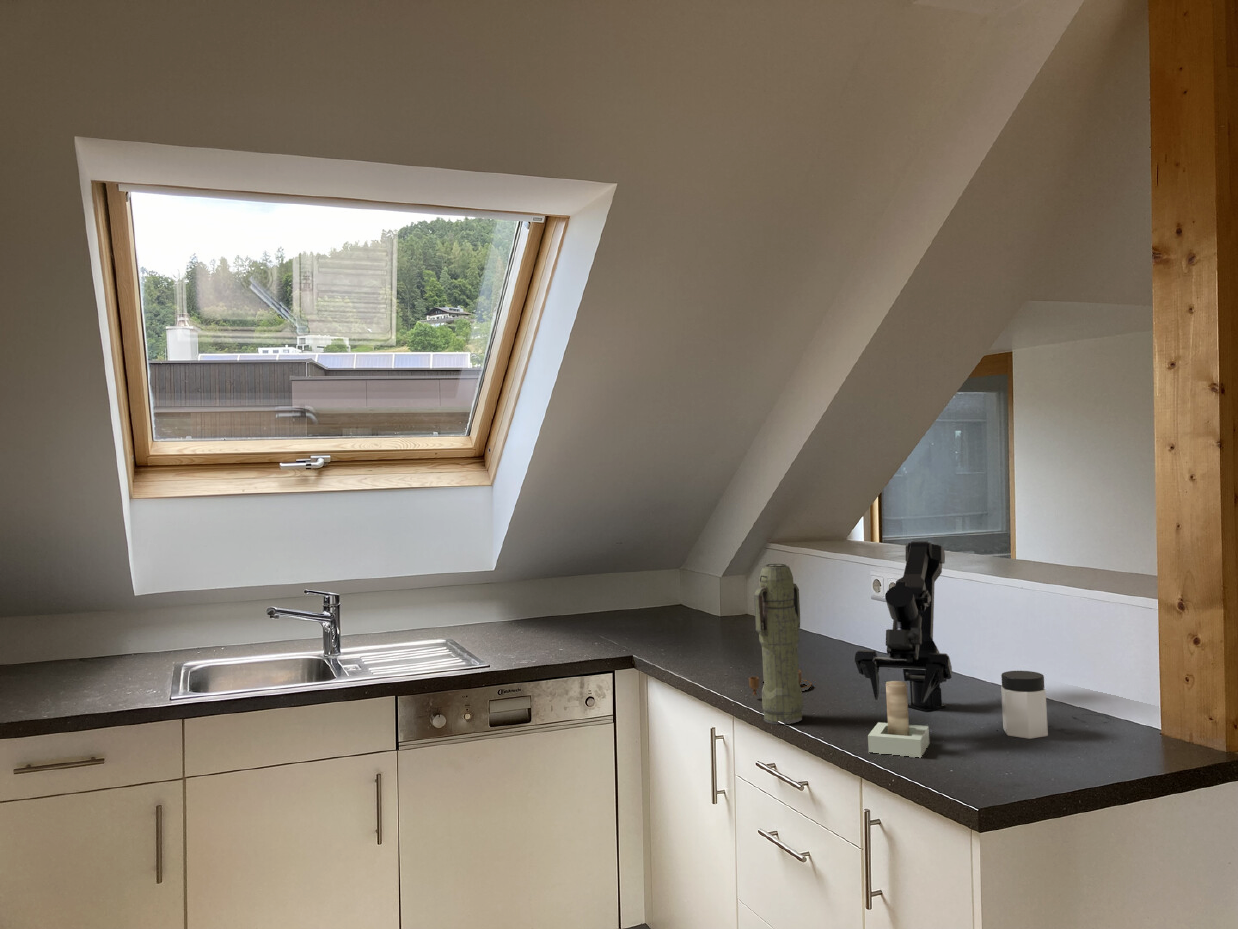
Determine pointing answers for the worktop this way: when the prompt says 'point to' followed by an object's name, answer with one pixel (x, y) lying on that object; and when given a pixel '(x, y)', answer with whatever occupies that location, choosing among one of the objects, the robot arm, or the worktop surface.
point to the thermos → (779, 642)
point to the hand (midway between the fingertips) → (899, 700)
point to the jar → (1024, 704)
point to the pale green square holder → (899, 741)
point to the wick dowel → (897, 708)
